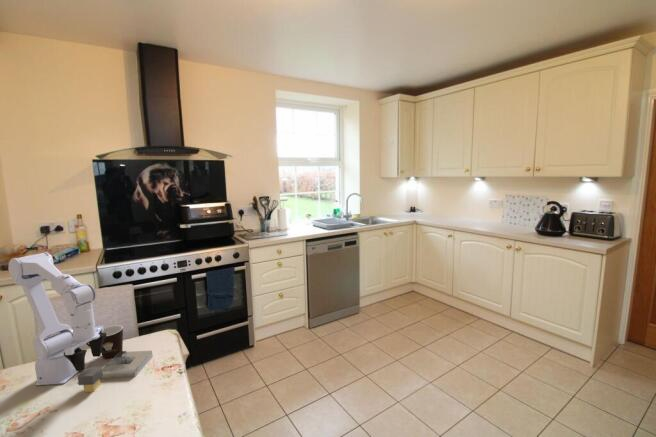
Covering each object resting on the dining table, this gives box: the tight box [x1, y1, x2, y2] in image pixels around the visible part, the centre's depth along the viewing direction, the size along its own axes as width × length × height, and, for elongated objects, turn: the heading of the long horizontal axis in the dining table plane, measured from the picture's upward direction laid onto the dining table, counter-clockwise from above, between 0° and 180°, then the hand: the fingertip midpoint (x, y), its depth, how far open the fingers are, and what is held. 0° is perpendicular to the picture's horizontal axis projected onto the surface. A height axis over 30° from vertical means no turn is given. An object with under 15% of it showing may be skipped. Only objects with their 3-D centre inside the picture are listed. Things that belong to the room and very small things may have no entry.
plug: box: [77, 366, 103, 393], centre depth 101 cm, size 4×4×6 cm
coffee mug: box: [85, 324, 124, 361], centre depth 120 cm, size 12×9×10 cm
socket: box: [99, 350, 154, 380], centre depth 112 cm, size 12×12×3 cm
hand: (88, 362), depth 100 cm, fingers open, 7 cm apart
